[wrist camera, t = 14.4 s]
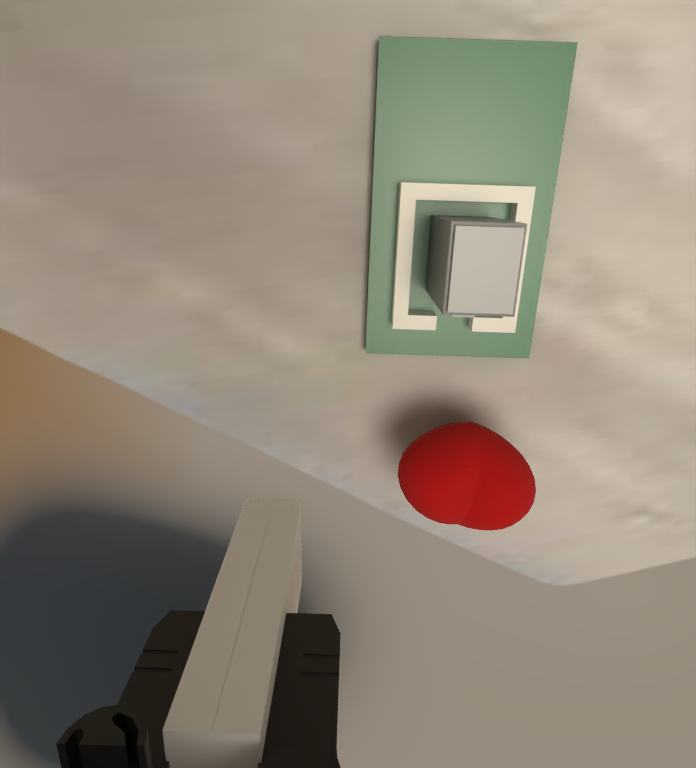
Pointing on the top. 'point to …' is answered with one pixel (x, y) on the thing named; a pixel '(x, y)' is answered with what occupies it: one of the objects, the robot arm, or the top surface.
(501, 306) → the plug
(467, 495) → the light bulb
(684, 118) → the top surface
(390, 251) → the board
